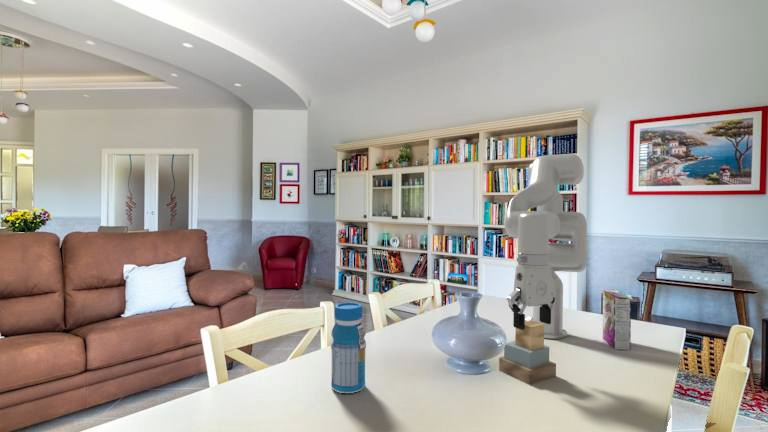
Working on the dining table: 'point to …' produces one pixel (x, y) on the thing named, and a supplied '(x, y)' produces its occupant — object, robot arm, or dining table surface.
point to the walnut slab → (528, 371)
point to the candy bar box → (617, 319)
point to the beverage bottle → (348, 349)
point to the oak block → (530, 335)
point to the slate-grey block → (526, 355)
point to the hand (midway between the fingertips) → (532, 325)
